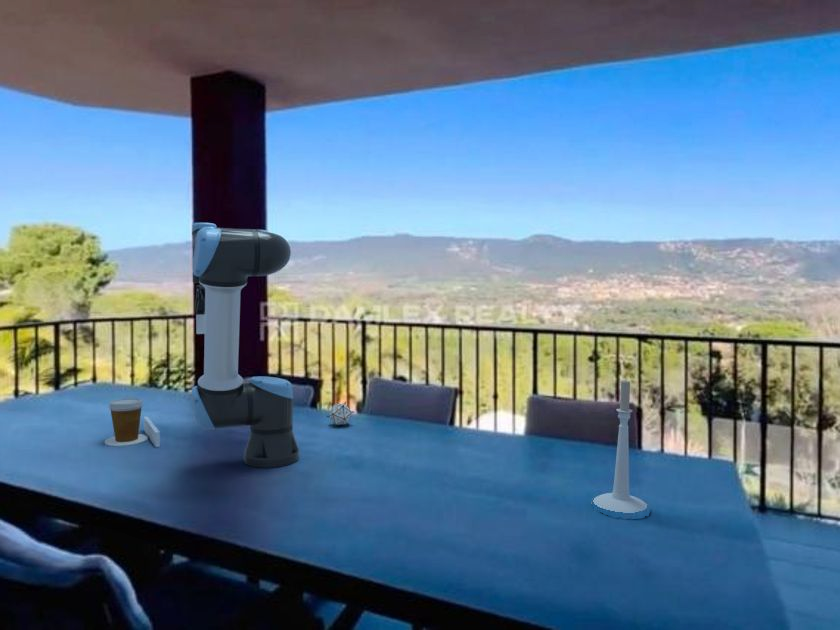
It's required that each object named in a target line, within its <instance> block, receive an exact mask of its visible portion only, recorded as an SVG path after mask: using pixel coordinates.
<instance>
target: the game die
mask: <svg viewBox="0 0 840 630" xmlns="http://www.w3.org/2000/svg"><path fill="white" fill-rule="evenodd" d="M331 405H332V407H331V409H330V411H329V415H326V418H329V419H330V420H331V422H333V424H334V428H336V427H337V426H341V425H347V426H350V424H349V421H350V418H351V416H352V414H353V413H355V411H353V410H351V409H350V408H349V406H348V405H347V401H345V402H344V403H336V404H334V403H333V402H331Z"/></svg>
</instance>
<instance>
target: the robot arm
mask: <svg viewBox="0 0 840 630" xmlns="http://www.w3.org/2000/svg"><path fill="white" fill-rule="evenodd" d="M191 235H192V236H191V237H192V282H193V283H194V284H197V285H196V286H195V287H196V289H195V290H196V291H195V292H196V293H195V300H194V301H195V304H194V311H193V312H194V313H195V314H196V315H195V316H196V317H195V320H196V321H195V322H196V323H195V324H196V325H195V326H196V330H195V331H196V335H204V350H203V353H204V355H203V356H204V357H203V375H201V376H199V378H198V380H197V385H195V386H193V387H191V393H192V394H191V395H192V403H193V409H194V415H195V421H196V425H197V427H198V428H199V429H201V430H218V429H227V428H237V427H238V428H239V427H246V426H250V431H249V432H250V433H249V437H248V440H247V442H246V446H245V450H244V453H243V462H244V464H246V465H247V466H251V467H255V468H263V469H264V468H267V469H268V467H269V468H278V467H279V466H280V467H284V466H289V465H291V464H293V463H294V464H295V463H296V462H297V461H298V460H300V449H299V446H298V443H297V440H296V438H295V434H294V431H293V430H294V427H293V426H294V425H293V424H294V422H293V421H294V419H293V418H294V415H293V414H294V413H293V412H294V409H293V408H294V406H293V404H294V394H293V393H294V392H293V385H292V382H290V381H289V380H288V379H285V378H279V377H274V376H265V375H264V376H260V375H259V376H252V377H250V379H249V382H247V383H246V382H245V383H244V378H243V377H242V376H241V375H240V374H239V353H240V352H239V350H240V349H239V348H240V321H241V320H240V319H241V317H240V316H241V291H242V289H244V287H246V286H247V284H248V277H265V276H269V275H270V276H271V275H273V274H275V273H278V272H279V271H281V270H283V269H284V268H285V267H286V265H287V264H288V263H289V261H290V258H291V256H292V255H291V254H292V252H291V246H290V243H289V242H288V240H287V239H285V238H284V237H283V236H281V235H280V234H276V233H274V232H270V231H268V230H265V229H260V228H255V229H253V228H252V229H251V228H231V227H230V228H228V227H226V228H225V227H217V225H216V224H215V223H212V222H194V223H193V224H192V231H191Z"/></svg>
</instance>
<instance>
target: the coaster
mask: <svg viewBox="0 0 840 630" xmlns="http://www.w3.org/2000/svg"><path fill="white" fill-rule="evenodd" d="M148 439H149V437H148V436H147V434H142V433H141V434H140V433H138V439H136V440H134V441H129V442H117V441H116V440H115V435H114V436H111V437H108V438H107V439H105V440H104V444H105V445H106V446H110V447H126V446H135V445H138V444H142V443H145V442H146V441H148Z"/></svg>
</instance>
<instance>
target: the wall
mask: <svg viewBox="0 0 840 630" xmlns="http://www.w3.org/2000/svg"><path fill="white" fill-rule="evenodd" d="M143 431H144V433H145V435H146V436H147V437H148V439H149V440H150V441H151V442H152V444H153V445H154V447H155V448H160V447H161V432H160V430H159V429H158V427H156V425H155V424H154V423H153V422H152V420H151V419H150V418H149V417H148V416H143Z"/></svg>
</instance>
